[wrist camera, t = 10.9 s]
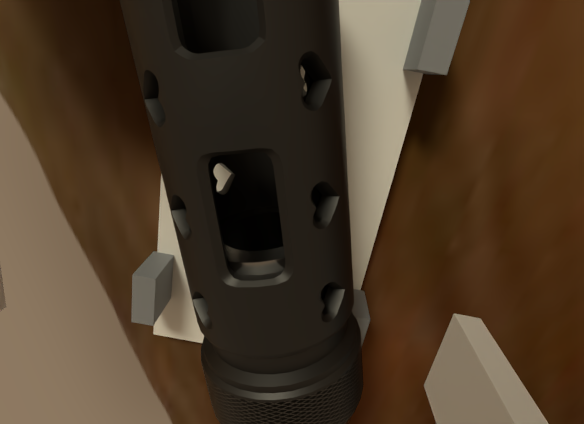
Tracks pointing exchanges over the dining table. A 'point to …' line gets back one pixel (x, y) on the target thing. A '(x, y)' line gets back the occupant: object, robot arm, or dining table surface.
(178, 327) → the mounting board
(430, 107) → the dining table surface
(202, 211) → the muzzle brake
